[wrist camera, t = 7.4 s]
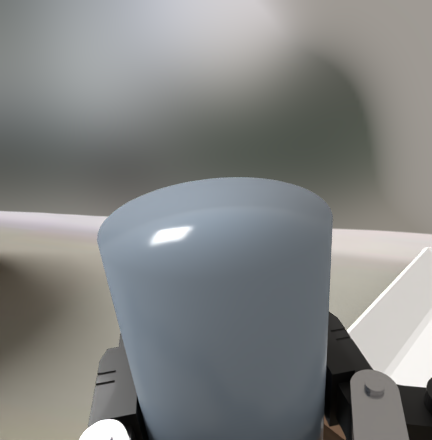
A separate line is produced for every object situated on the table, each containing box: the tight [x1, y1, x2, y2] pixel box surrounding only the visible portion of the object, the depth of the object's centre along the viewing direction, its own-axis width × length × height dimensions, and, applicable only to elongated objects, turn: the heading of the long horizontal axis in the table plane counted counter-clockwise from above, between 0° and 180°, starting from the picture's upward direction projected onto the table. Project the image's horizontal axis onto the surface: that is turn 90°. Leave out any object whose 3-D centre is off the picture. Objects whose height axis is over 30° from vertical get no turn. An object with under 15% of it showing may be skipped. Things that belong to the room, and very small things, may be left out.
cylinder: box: [97, 177, 332, 440], centre depth 12 cm, size 6×6×15 cm
